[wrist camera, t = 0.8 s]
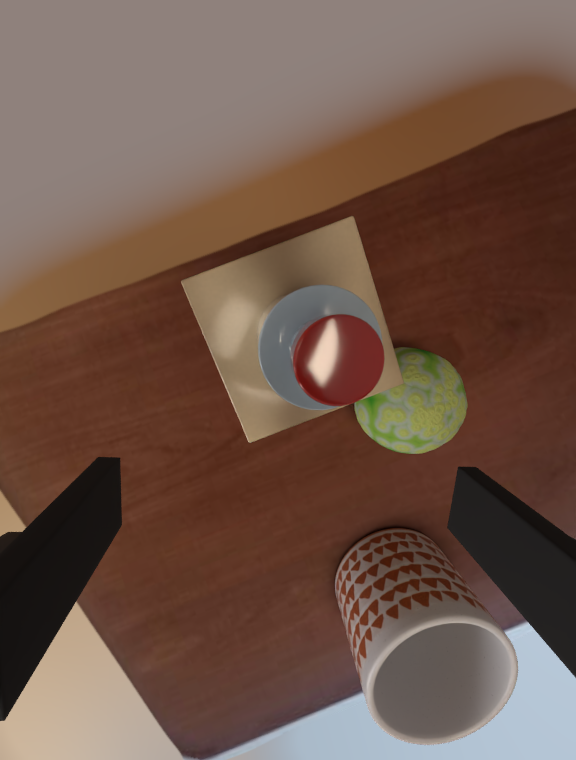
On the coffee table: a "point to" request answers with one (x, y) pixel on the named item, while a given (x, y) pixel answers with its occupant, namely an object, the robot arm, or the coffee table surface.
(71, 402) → the coffee table surface
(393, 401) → the decorative ball
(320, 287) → the bottle
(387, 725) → the planter
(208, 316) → the stand
